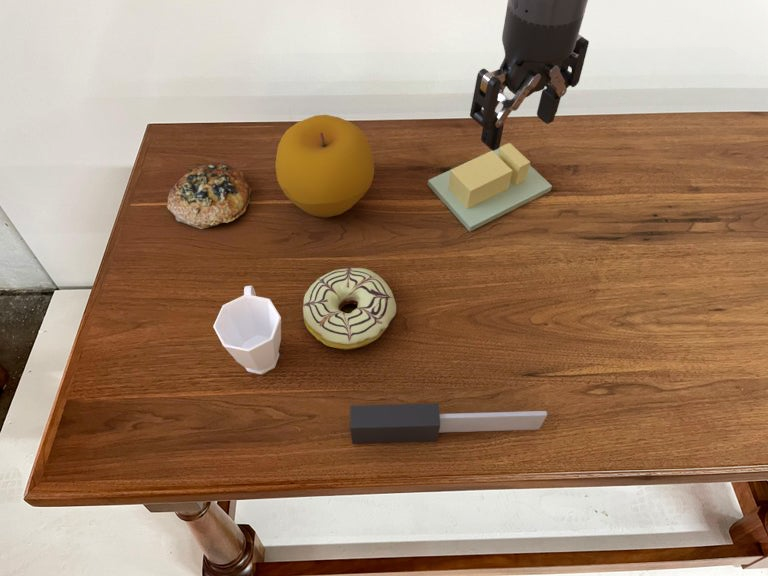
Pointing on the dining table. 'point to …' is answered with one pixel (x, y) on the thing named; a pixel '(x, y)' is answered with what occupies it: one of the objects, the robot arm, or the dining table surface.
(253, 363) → the cup
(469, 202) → the butter block
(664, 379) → the dining table surface
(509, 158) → the butter slice
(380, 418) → the knife
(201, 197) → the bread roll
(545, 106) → the robot arm
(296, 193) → the apple
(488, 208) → the butter board
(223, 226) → the dining table surface
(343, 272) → the decorated donut
